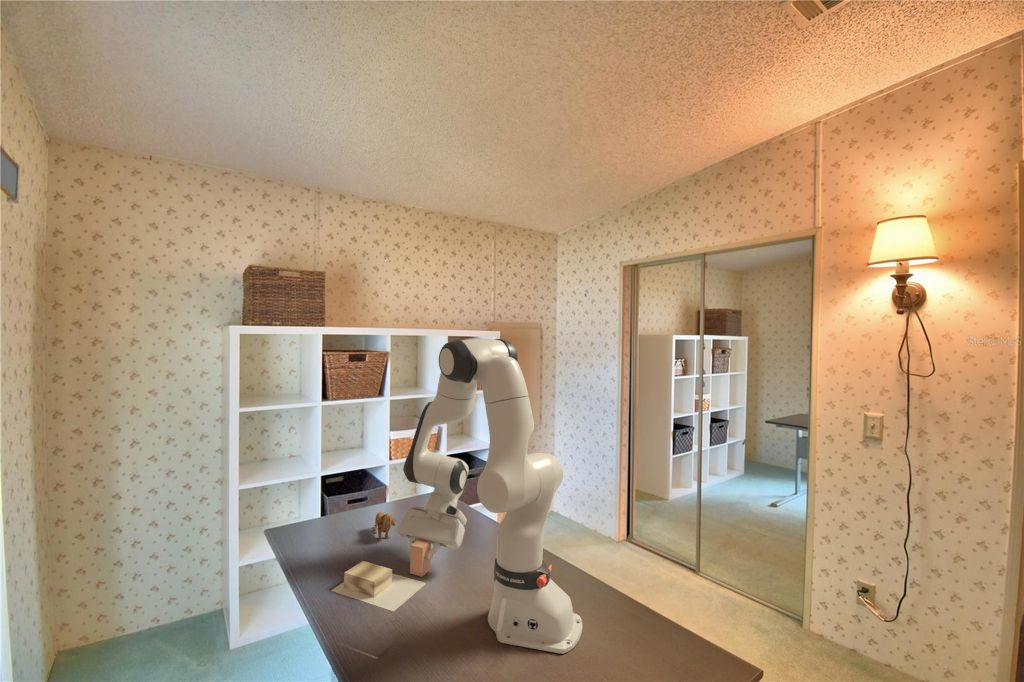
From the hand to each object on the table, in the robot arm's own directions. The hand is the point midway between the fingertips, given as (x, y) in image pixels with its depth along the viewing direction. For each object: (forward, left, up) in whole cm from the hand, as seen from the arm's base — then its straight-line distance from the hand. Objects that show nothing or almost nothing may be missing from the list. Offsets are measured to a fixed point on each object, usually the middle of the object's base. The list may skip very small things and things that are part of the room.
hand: (419, 557), depth 129 cm
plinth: (+8, +11, -5) cm, 15 cm away
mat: (+5, +10, -5) cm, 13 cm away
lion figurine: (+25, -15, -5) cm, 29 cm away
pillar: (0, -1, -4) cm, 4 cm away
